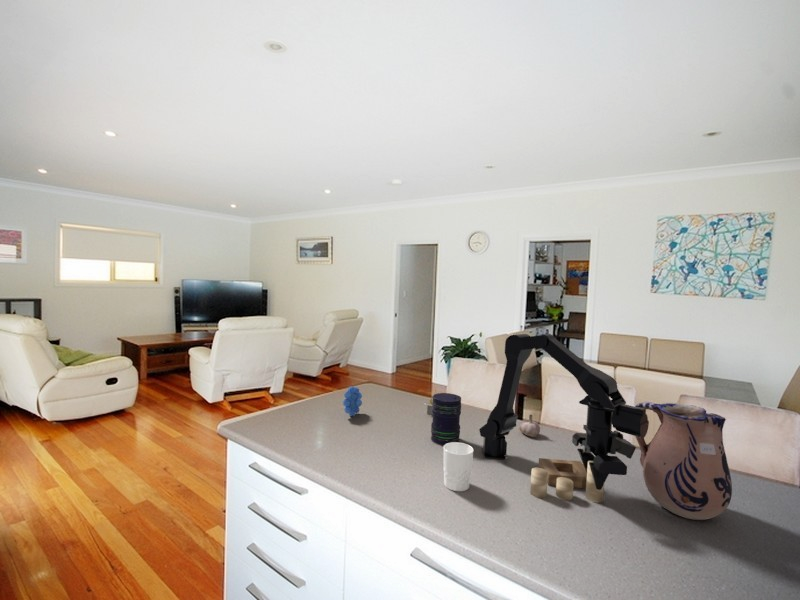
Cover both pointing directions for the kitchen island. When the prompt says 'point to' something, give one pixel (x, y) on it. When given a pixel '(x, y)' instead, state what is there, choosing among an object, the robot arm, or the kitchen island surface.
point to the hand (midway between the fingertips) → (595, 484)
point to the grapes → (352, 401)
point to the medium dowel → (539, 482)
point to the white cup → (457, 466)
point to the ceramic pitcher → (687, 461)
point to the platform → (429, 407)
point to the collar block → (564, 471)
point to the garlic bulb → (530, 428)
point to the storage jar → (445, 418)
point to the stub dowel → (564, 488)
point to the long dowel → (593, 488)
